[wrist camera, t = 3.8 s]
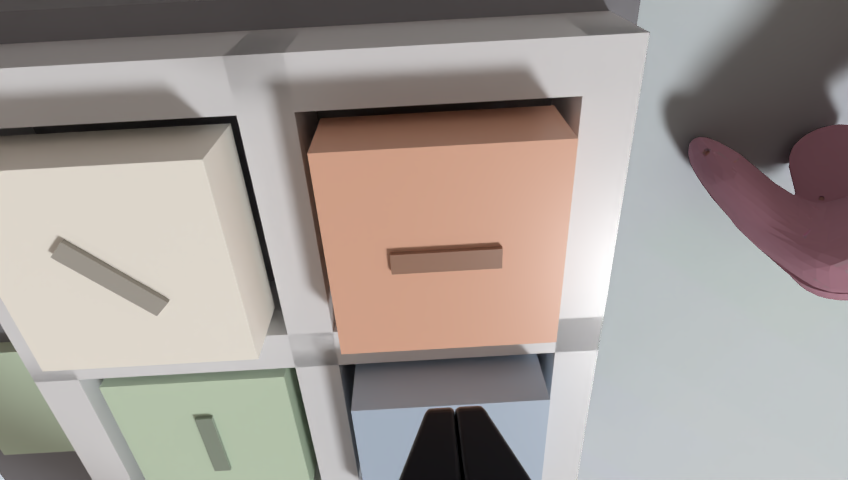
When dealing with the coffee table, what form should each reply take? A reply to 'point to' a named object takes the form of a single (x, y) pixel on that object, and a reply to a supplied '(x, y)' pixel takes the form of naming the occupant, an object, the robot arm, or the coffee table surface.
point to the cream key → (131, 248)
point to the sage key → (215, 425)
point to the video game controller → (788, 206)
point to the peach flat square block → (444, 226)
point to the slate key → (447, 387)
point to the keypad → (291, 179)
